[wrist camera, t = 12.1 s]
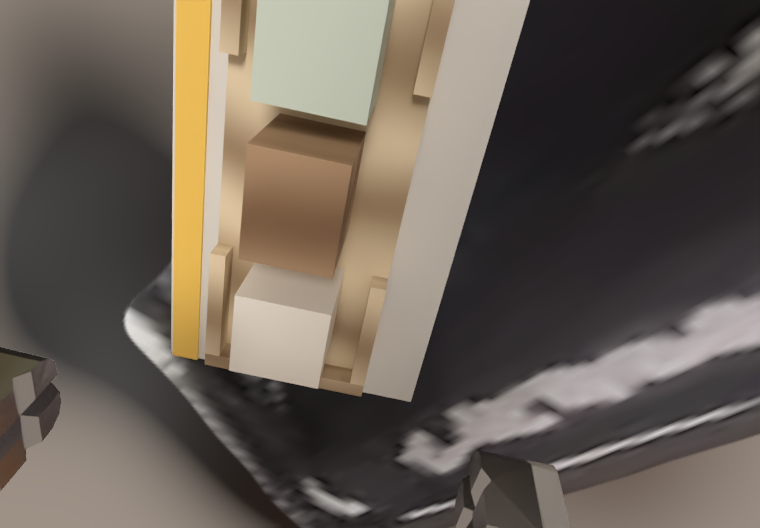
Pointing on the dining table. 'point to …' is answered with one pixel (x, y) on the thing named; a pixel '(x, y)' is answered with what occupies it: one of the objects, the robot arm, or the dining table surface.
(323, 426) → the dining table surface
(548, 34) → the dining table surface
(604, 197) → the dining table surface
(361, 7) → the block
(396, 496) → the dining table surface
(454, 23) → the dock
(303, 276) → the block
